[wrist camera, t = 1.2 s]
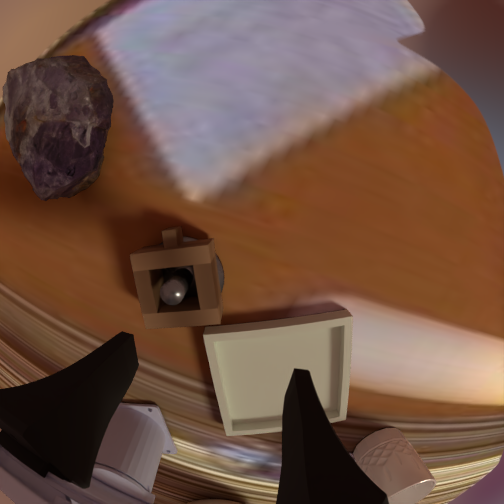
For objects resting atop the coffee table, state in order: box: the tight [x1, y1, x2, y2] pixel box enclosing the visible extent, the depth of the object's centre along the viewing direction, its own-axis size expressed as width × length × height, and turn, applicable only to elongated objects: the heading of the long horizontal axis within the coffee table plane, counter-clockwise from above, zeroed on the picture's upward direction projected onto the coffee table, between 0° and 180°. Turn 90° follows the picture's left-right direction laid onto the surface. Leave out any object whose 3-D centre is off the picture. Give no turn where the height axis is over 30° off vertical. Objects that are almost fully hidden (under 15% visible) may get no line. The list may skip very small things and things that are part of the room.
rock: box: [3, 55, 113, 201], centre depth 16 cm, size 12×9×10 cm
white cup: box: [353, 428, 436, 504], centre depth 22 cm, size 8×8×10 cm
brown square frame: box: [130, 226, 223, 329], centre depth 20 cm, size 6×7×3 cm
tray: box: [203, 309, 353, 436], centre depth 24 cm, size 12×12×2 cm
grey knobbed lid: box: [159, 236, 224, 305], centre depth 20 cm, size 6×6×4 cm
